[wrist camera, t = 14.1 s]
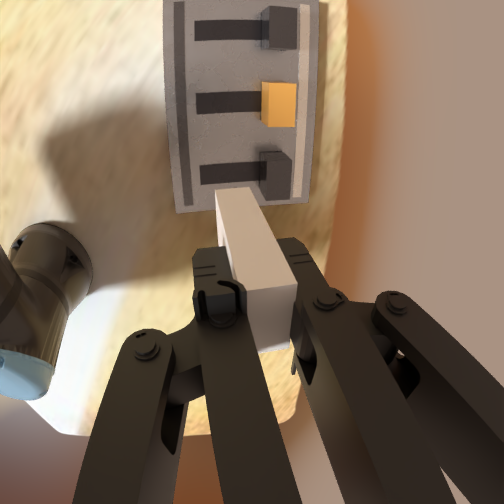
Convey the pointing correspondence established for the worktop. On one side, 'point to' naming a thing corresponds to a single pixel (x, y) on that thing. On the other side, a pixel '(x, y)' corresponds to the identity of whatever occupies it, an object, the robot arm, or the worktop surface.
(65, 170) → the worktop surface
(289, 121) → the tall orange block
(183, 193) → the panel
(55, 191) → the worktop surface
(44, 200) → the worktop surface
